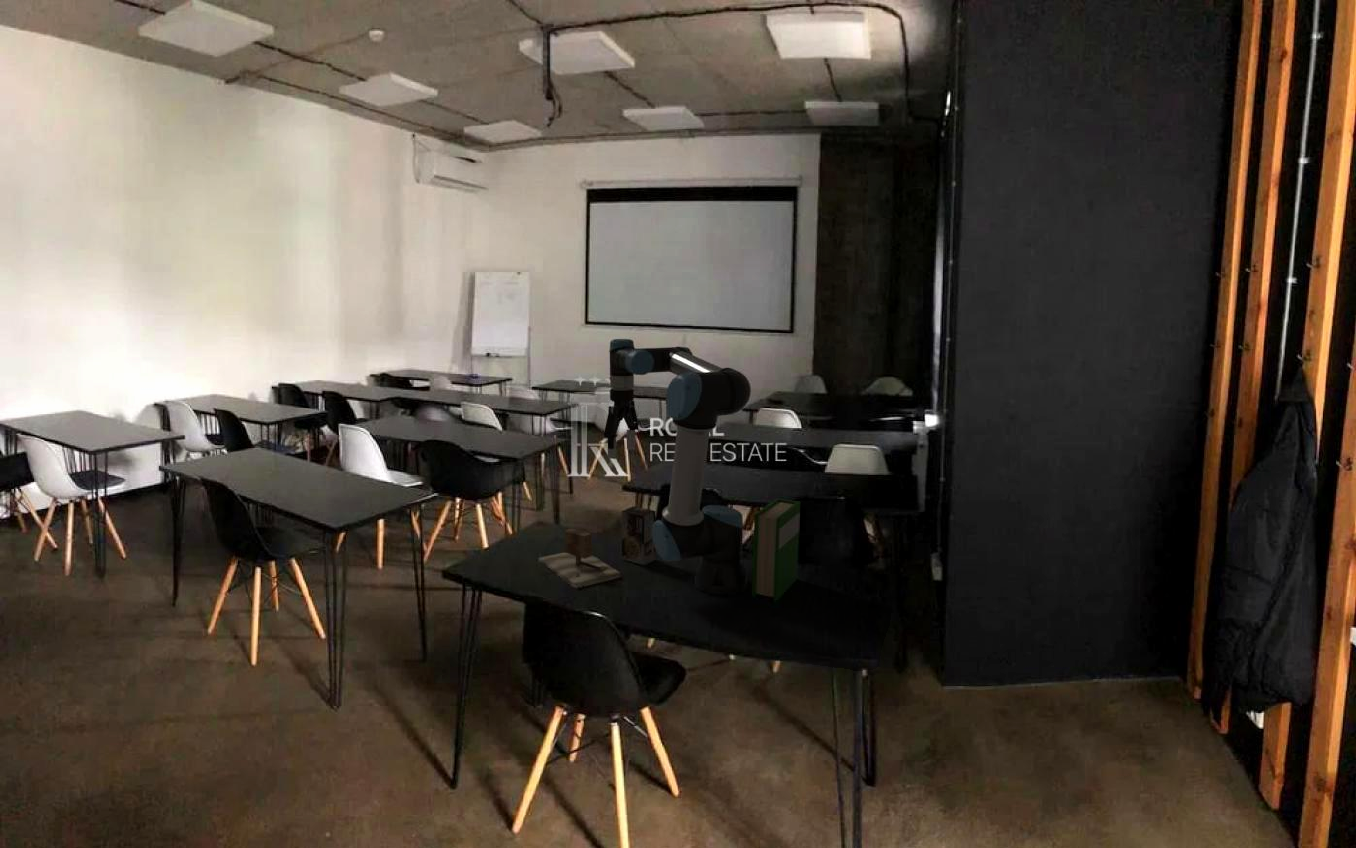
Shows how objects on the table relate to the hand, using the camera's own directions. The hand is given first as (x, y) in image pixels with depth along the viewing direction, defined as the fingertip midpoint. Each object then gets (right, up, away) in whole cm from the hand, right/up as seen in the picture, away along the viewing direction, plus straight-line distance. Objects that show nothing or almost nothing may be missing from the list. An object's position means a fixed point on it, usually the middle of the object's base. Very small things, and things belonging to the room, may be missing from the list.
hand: (621, 453), depth 247 cm
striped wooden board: (-12, -35, -13) cm, 39 cm away
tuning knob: (-10, -33, -14) cm, 38 cm away
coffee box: (+6, -33, -4) cm, 34 cm away
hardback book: (+46, -38, -24) cm, 64 cm away
